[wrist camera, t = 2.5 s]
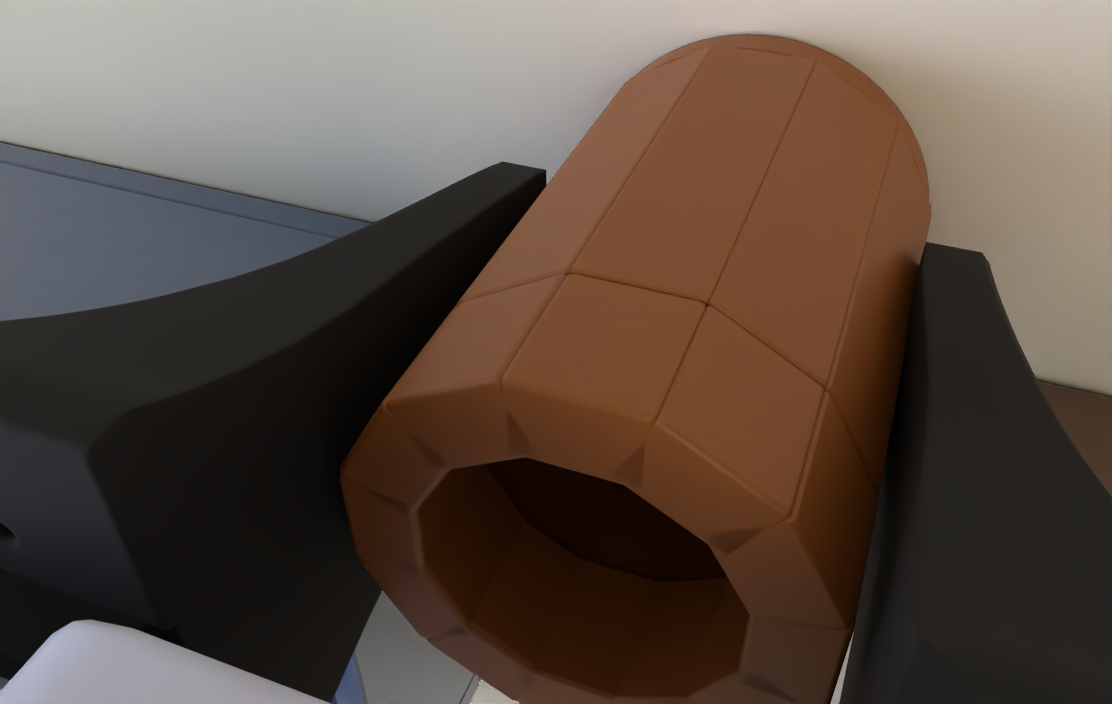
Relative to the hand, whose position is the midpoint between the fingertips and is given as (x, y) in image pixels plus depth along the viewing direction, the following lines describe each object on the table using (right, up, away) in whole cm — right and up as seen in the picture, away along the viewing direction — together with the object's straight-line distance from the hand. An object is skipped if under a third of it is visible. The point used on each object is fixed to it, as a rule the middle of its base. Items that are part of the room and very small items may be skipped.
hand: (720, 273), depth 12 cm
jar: (+1, +1, +1) cm, 2 cm away
